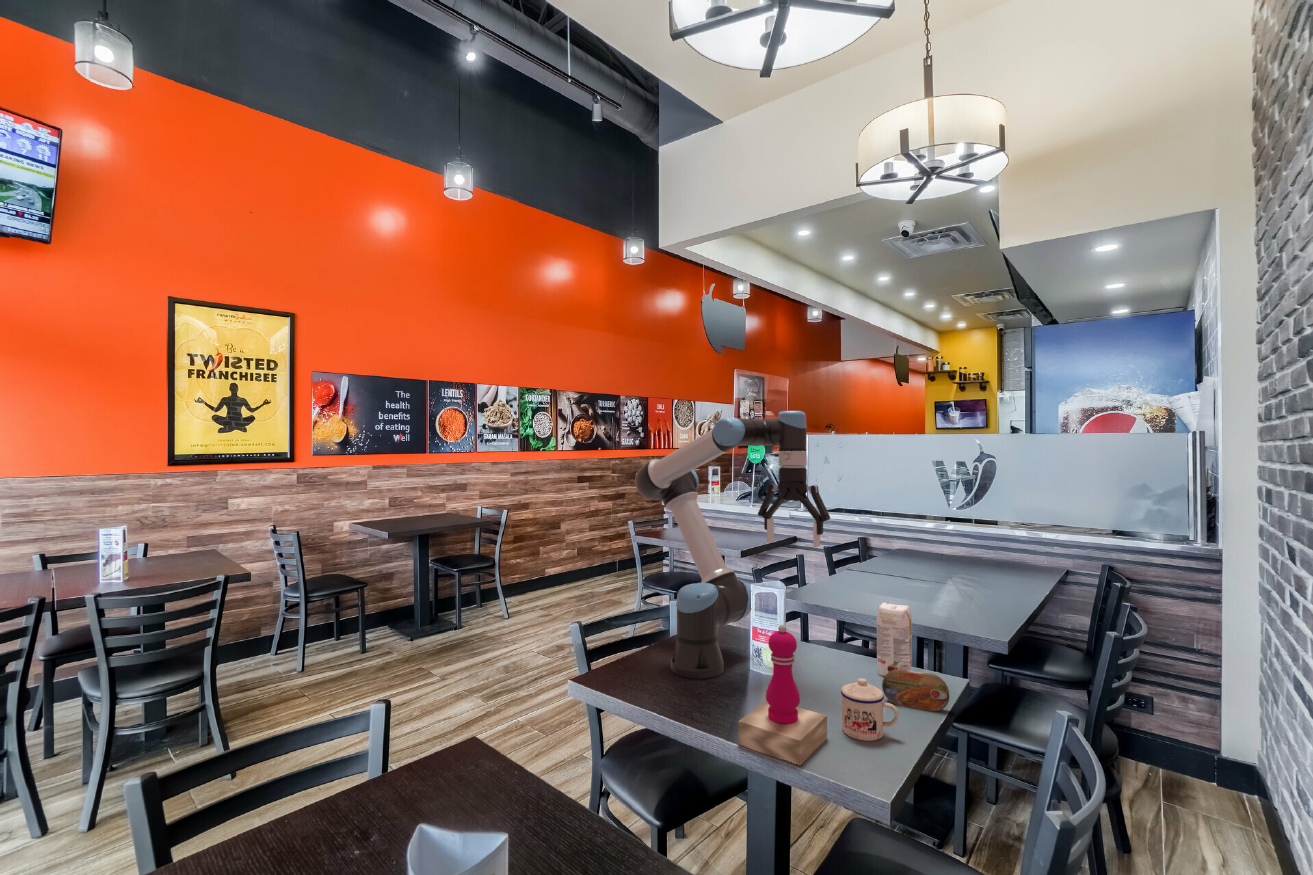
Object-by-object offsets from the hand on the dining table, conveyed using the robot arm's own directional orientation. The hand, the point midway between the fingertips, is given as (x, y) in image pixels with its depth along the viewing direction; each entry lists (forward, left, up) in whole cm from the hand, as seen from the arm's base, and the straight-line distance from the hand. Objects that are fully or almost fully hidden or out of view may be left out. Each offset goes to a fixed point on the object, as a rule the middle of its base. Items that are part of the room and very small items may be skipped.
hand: (793, 544), depth 164 cm
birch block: (+13, -34, -37) cm, 52 cm away
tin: (+31, +2, -37) cm, 48 cm away
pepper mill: (+13, -34, -32) cm, 48 cm away
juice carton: (+21, +20, -37) cm, 47 cm away
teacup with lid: (+27, -19, -37) cm, 49 cm away
